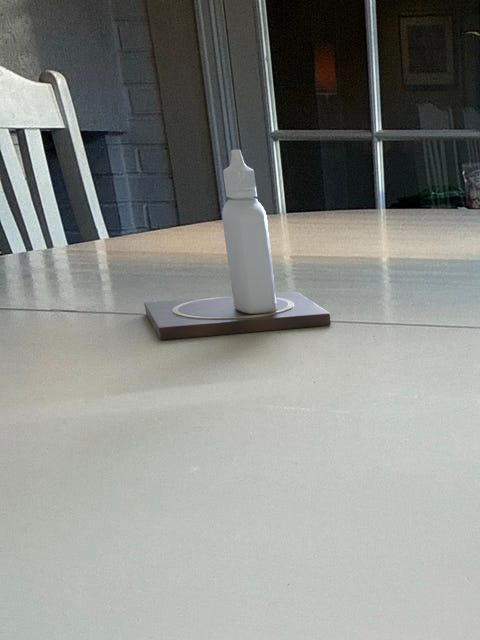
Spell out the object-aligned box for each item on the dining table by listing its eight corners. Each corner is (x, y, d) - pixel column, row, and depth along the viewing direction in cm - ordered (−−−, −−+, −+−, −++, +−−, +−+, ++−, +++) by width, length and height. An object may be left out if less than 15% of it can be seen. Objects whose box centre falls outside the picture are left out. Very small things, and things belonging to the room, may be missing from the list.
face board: (160, 340, 72) (158, 325, 71) (146, 314, 81) (143, 300, 81) (331, 325, 77) (329, 311, 76) (298, 302, 86) (296, 289, 86)
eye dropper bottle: (289, 302, 80) (272, 148, 73) (271, 315, 75) (252, 151, 69) (241, 302, 80) (220, 148, 74) (220, 314, 75) (196, 151, 69)
